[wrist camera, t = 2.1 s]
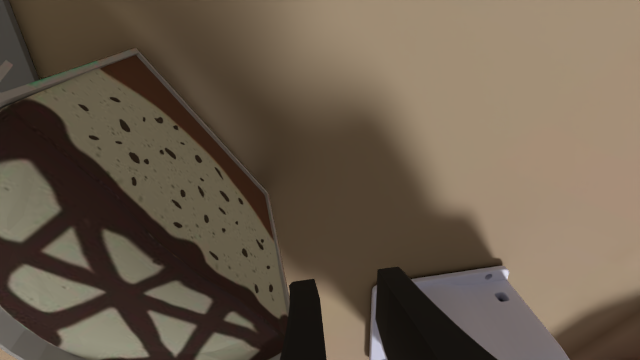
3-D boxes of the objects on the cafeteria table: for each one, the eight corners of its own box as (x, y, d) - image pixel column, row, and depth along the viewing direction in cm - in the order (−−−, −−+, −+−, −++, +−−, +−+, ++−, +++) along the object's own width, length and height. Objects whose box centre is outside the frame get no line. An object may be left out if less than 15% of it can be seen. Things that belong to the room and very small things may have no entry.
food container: (1, 103, 17) (-245, 251, 8) (107, 16, 16) (-49, 82, 8) (199, 267, 23) (172, 451, 14) (285, 211, 22) (310, 372, 14)
